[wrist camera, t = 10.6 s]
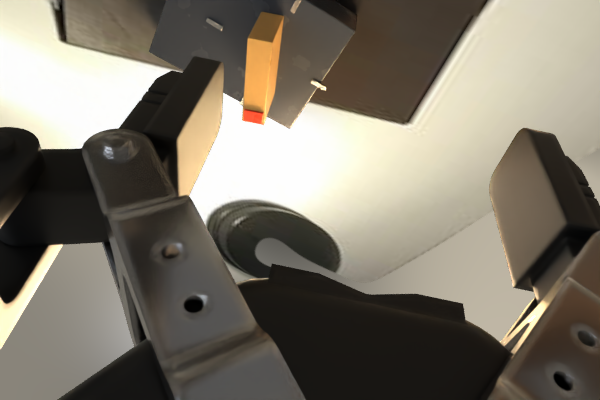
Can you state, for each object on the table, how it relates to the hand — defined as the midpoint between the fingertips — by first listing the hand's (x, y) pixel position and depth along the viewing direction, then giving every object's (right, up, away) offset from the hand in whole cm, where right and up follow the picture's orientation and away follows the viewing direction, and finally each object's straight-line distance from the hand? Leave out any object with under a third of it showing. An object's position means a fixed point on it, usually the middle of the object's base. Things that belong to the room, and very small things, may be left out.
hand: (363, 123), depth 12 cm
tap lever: (-4, +10, +25) cm, 28 cm away
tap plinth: (-6, +13, +27) cm, 31 cm away
